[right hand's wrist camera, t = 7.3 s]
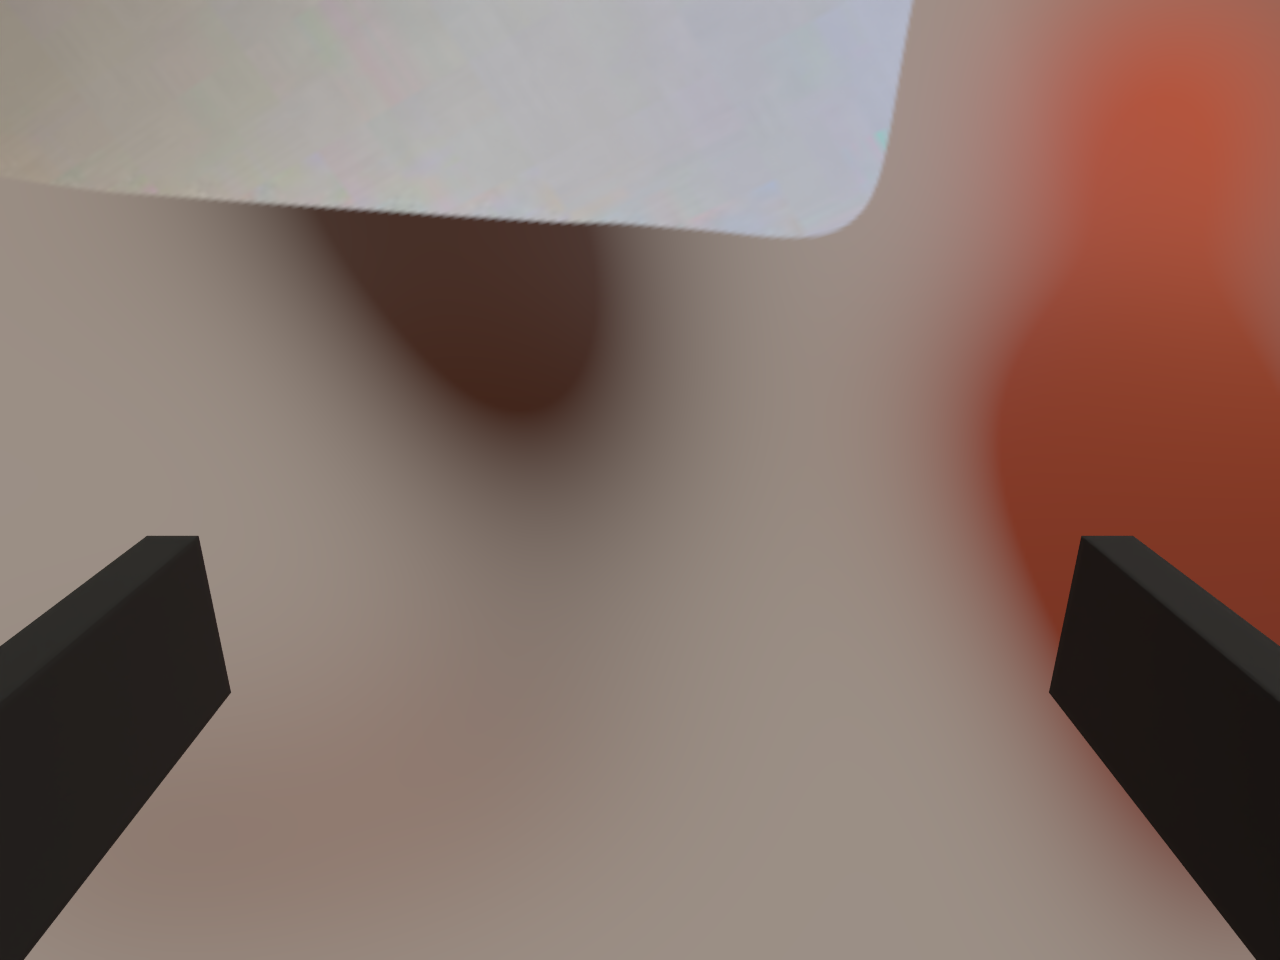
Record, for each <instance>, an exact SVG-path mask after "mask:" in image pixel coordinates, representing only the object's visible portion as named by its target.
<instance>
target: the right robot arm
mask: <svg viewBox="0 0 1280 960" xmlns="http://www.w3.org/2000/svg"><path fill="white" fill-rule="evenodd" d="M230 693H231V690H230V686H229V681H228V676H227V671H226V666H225V661H224V657H223V652H222V647H221V642H220V637H219V632H218V628H217V623H216V618H215V613H214V609H213V604H212V599H211V594H210V589H209V584H208V579H207V575H206V570H205V565H204V560H203V555H202V550H201V546H200V541H199V536H146V537H145V538H144V539H142V540H141V541H140V542H138V543H137V544H136V545H134V546H133V547H132V548H130V549H129V550H128V551H126V552H125V553H124V554H122V555H121V556H120V557H118V558H117V559H116V560H114V561H113V562H112V563H110V564H109V565H108V566H106V567H105V568H104V569H102V570H101V571H100V572H98V573H97V574H96V575H94V576H93V577H92V578H90V579H89V580H88V581H86V582H85V583H84V584H82V585H81V586H80V587H79V588H77V589H76V590H74V591H73V592H72V593H70V594H69V595H68V596H67V597H65V598H64V599H63V600H61V601H60V602H59V603H57V604H56V605H55V606H53V607H52V608H51V609H49V610H48V611H47V612H45V613H44V614H43V615H41V616H40V617H39V618H37V619H36V620H35V621H33V622H32V623H31V624H29V625H28V626H27V627H25V628H24V629H23V630H21V631H20V632H19V633H17V634H16V635H15V636H13V637H12V638H11V639H9V640H8V641H7V642H5V643H4V644H3V645H1V646H0V960H24V959H25V957H26V956H27V955H28V954H29V952H30V951H31V950H32V948H33V947H34V946H35V945H36V943H37V942H38V941H39V939H40V938H41V937H42V936H43V934H44V933H45V932H46V930H47V929H48V928H49V926H50V925H51V924H52V923H53V921H54V920H55V919H56V917H57V916H58V915H59V914H60V912H61V911H62V910H63V908H64V907H65V906H66V905H67V903H68V902H69V901H70V899H71V898H72V897H73V895H74V894H75V893H76V892H77V890H78V889H79V888H80V887H81V885H82V884H83V883H84V881H85V880H86V879H87V877H88V876H89V875H90V874H91V872H92V871H93V870H94V868H95V867H96V866H97V865H98V863H99V862H100V861H101V859H102V858H103V857H104V856H105V854H106V853H107V852H108V850H109V849H110V848H111V846H112V845H113V844H114V843H115V841H116V840H117V839H118V838H119V836H120V835H121V834H122V832H123V831H124V830H125V828H126V827H127V826H128V825H129V823H130V822H131V821H132V819H133V818H134V817H135V816H136V814H137V813H138V812H139V810H140V809H141V808H142V807H143V805H144V804H145V803H146V801H147V800H148V799H149V798H150V796H151V795H152V794H153V792H154V791H155V790H156V788H157V787H158V786H159V785H160V783H161V782H162V781H163V779H164V778H165V777H166V776H167V774H168V773H169V772H170V770H171V769H172V768H173V766H174V765H175V764H176V763H177V761H178V760H179V759H180V758H181V756H182V755H183V754H184V752H185V751H186V750H187V748H188V747H189V746H190V745H191V743H192V742H193V741H194V739H195V738H196V737H197V736H198V734H199V733H200V732H201V730H202V729H203V728H204V727H205V725H206V724H207V723H208V721H209V720H210V719H211V718H212V716H213V715H214V714H215V712H216V711H217V710H218V708H219V707H220V706H221V705H222V703H223V702H224V701H225V699H226V698H227V697H228V696H229V694H230ZM1049 693H1050V694H1051V696H1052V697H1053V698H1054V699H1055V701H1056V702H1057V703H1058V705H1059V706H1060V707H1061V709H1062V710H1063V711H1064V712H1065V714H1066V715H1067V716H1068V717H1069V719H1070V720H1071V721H1072V723H1073V724H1074V725H1075V727H1076V728H1077V729H1078V730H1079V732H1080V733H1081V734H1082V736H1083V737H1084V738H1085V739H1086V741H1087V742H1088V743H1089V745H1090V746H1091V747H1092V749H1093V750H1094V751H1095V752H1096V754H1097V755H1098V756H1099V757H1100V759H1101V760H1102V761H1103V763H1104V764H1105V765H1106V767H1107V768H1108V769H1109V770H1110V772H1111V773H1112V774H1113V776H1114V777H1115V778H1116V779H1117V781H1118V782H1119V783H1120V785H1121V786H1122V787H1123V788H1124V790H1125V791H1126V792H1127V794H1128V795H1129V796H1130V798H1131V799H1132V800H1133V801H1134V803H1135V804H1136V805H1137V807H1138V808H1139V809H1140V810H1141V812H1142V813H1143V814H1144V815H1145V817H1146V818H1147V819H1148V821H1149V822H1150V823H1151V825H1152V826H1153V827H1154V828H1155V830H1156V831H1157V832H1158V834H1159V835H1160V836H1161V837H1162V839H1163V840H1164V841H1165V843H1166V844H1167V845H1168V846H1169V848H1170V849H1171V850H1172V852H1173V853H1174V854H1175V856H1176V857H1177V858H1178V859H1179V861H1180V862H1181V863H1182V865H1183V866H1184V867H1185V868H1186V870H1187V871H1188V872H1189V874H1190V875H1191V876H1192V877H1193V879H1194V880H1195V881H1196V883H1197V884H1198V885H1199V887H1200V888H1201V889H1202V890H1203V892H1204V893H1205V894H1206V896H1207V897H1208V898H1209V899H1210V901H1211V902H1212V903H1213V905H1214V906H1215V907H1216V908H1217V910H1218V911H1219V912H1220V914H1221V915H1222V916H1223V917H1224V919H1225V920H1226V921H1227V923H1228V924H1229V925H1230V926H1231V928H1232V929H1233V930H1234V932H1235V933H1236V934H1237V936H1238V937H1239V938H1240V939H1241V941H1242V942H1243V943H1244V945H1245V946H1246V947H1247V948H1248V950H1249V951H1250V952H1251V954H1252V955H1253V956H1254V957H1255V959H1256V960H1280V646H1279V645H1277V644H1276V643H1275V642H1273V641H1272V640H1271V639H1269V638H1268V637H1267V636H1265V635H1264V634H1263V633H1261V632H1260V631H1259V630H1257V629H1256V628H1255V627H1253V626H1252V625H1251V624H1249V623H1248V622H1247V621H1245V620H1244V619H1243V618H1241V617H1240V616H1239V615H1237V614H1236V613H1235V612H1233V611H1232V610H1231V609H1229V608H1228V607H1227V606H1225V605H1224V604H1223V603H1221V602H1220V601H1219V600H1217V599H1216V598H1215V597H1213V596H1212V595H1211V594H1209V593H1208V592H1207V591H1206V590H1204V589H1203V588H1202V587H1200V586H1199V585H1198V584H1196V583H1195V582H1194V581H1192V580H1191V579H1189V578H1188V577H1187V576H1186V575H1184V574H1183V573H1182V572H1180V571H1179V570H1178V569H1176V568H1175V567H1174V566H1172V565H1171V564H1170V563H1168V562H1167V561H1166V560H1164V559H1163V558H1162V557H1160V556H1159V555H1158V554H1156V553H1155V552H1154V551H1152V550H1151V549H1150V548H1148V547H1147V546H1146V545H1144V544H1143V543H1142V542H1140V541H1139V540H1138V539H1136V538H1135V537H1134V536H1081V541H1080V546H1079V550H1078V555H1077V560H1076V565H1075V570H1074V575H1073V579H1072V584H1071V589H1070V594H1069V599H1068V604H1067V609H1066V613H1065V618H1064V623H1063V628H1062V633H1061V637H1060V642H1059V647H1058V652H1057V657H1056V661H1055V666H1054V671H1053V676H1052V681H1051V686H1050V690H1049Z"/></svg>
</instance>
